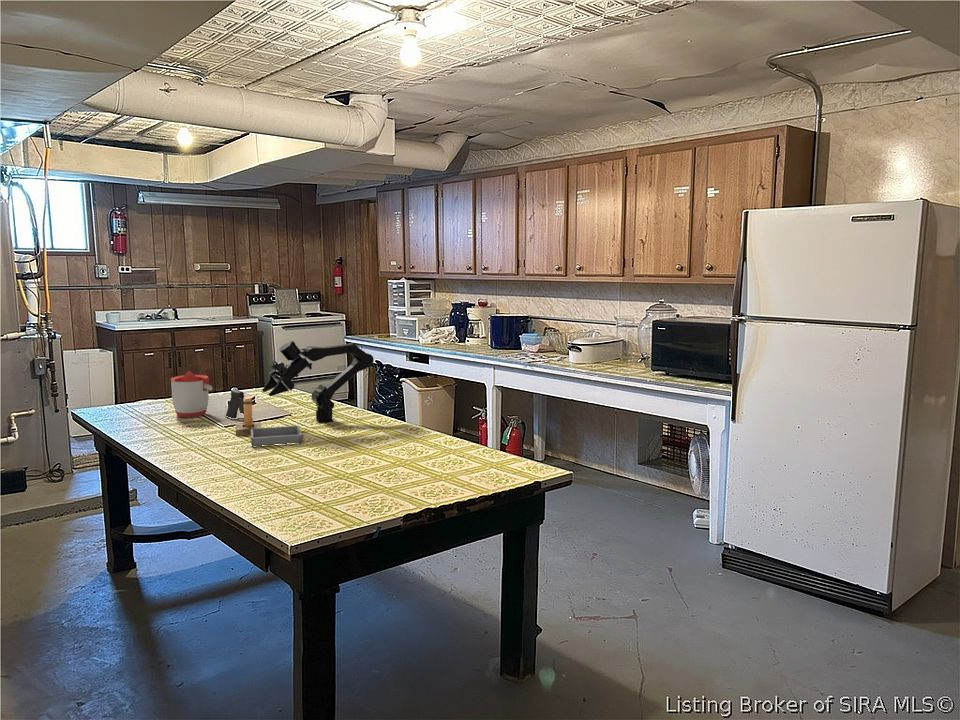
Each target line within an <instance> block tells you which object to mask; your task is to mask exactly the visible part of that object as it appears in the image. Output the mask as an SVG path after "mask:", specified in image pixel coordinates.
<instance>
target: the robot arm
mask: <svg viewBox="0 0 960 720" xmlns="http://www.w3.org/2000/svg"><path fill="white" fill-rule="evenodd" d="M278 350H279V352H280V353H281V354H282V355H283V357H284V358H285V359H286V360H287V361H291V362H290V363H289V364H285V363H284V362H282V361H279V362H277V361H275V360H271V362H270V364H269V366H268V367H269V368H270V369H272V370H271V371H269V372H268V380H267V382H266V383H265V385H264V386H263V388H262V390H261V392H263V393H265V392H268V391H270V392H269V393H268V397H273V396H276V395H280V394H282V393H287V392H290V391H292V390H294V389H295V386H296V385H295V383H294V382H293V381H292V380H294V379H295V378H298V377H299V374H301V372H302V371H304V370H305V369H306V368H307V369H308V370H311V371H312V369H313V368H312V367H313V363H312V362H318V361H319V360H323V359H324V358H326V357H330V356H337V355H345V354H351V356H353V357H354V358H353V359H352V361H351V364H350V365H349V366H348V367H347V368H345V369H344V370H343V371H342V372H341V373H339V374H338V375H337V376H336V377H334V378H333V380H331V381H329V383H328V384H326V385H323V384H319V385H318V386H317V387H316V388H314V389H313V391H312V393H311V400H312V402H314V403H315V405H316V409H315V420H316V421H317V423H331V422H332V423H333V422H334V419H333V409H334V407H335V403H334V402H333V401H332V398H333V396H334V395H335V393H336V392H337V391H338V390H339V389H340V388H341V387H343V386H344V385H345V384H347V382H348V381H349V380H351V379H352V378H353V377H354V376H355V375H357V374H358V373H359V372H361V371H364V370H366V369H369V368H370V367H371V366H372V365H373V364H374V361H375V359H374V356H373V355H372V354H370V353H368V352H366V351H365V350H363V349H361V348H360V347H359V346H358V345H357V344H356V343H352V342H349V343H345V344H337V345H329V346H316V345H314V346H313V345H311V346H310V345H309V346H306V347H305V348H299V347H298V346H297V345H296V343H295V341H293V340H290V341H289V342H286V343H285V344H282V346H280V347H279V349H278ZM302 356H303V357H302ZM308 360H309V361H311V362H309V361H308Z"/></svg>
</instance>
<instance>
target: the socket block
mask: <svg viewBox="0 0 960 720" xmlns="http://www.w3.org/2000/svg"><path fill="white" fill-rule="evenodd" d="M252 422H253V421H252ZM254 428H263V427H262V421H257V422H256V421H255V422H253V427H244V422H243V423H242V422H240V423H239V422H238V423H237V422H236V423H235V436H236V437H239V436H251V429H254Z"/></svg>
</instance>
